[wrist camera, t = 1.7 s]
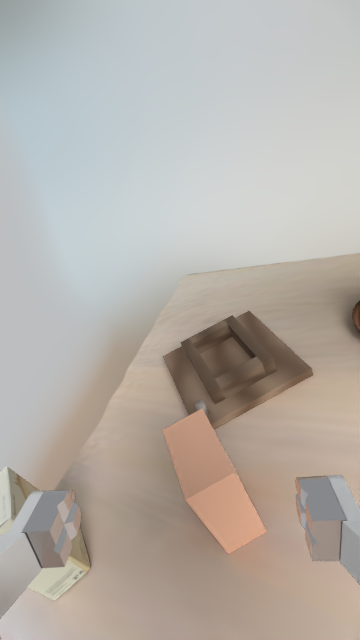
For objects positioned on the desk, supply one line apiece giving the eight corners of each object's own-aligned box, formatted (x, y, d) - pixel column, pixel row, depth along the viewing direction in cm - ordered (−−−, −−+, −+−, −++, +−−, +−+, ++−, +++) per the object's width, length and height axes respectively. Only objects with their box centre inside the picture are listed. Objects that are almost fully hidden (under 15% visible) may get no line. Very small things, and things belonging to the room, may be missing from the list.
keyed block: (235, 469, 34) (202, 408, 28) (267, 531, 28) (234, 472, 22) (202, 488, 34) (162, 430, 28) (228, 554, 28) (185, 499, 22)
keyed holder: (250, 316, 53) (245, 298, 51) (312, 375, 39) (308, 354, 37) (165, 361, 52) (156, 345, 50) (199, 436, 39) (189, 419, 37)
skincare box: (92, 569, 31) (13, 519, 25) (53, 604, 30) (-42, 562, 24) (77, 516, 36) (8, 462, 30) (42, 544, 35) (-38, 496, 29)
